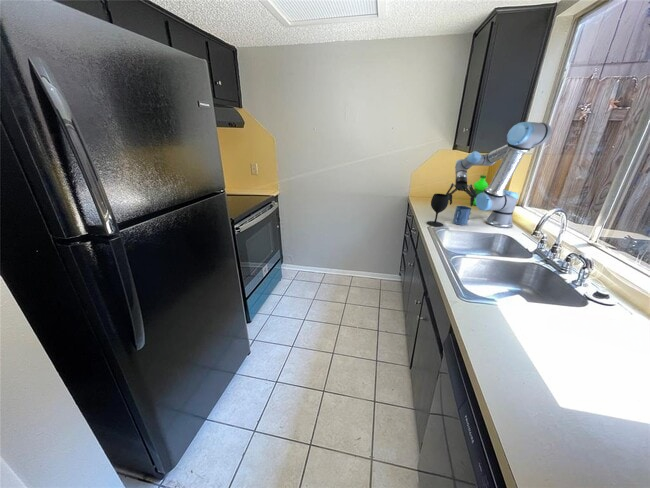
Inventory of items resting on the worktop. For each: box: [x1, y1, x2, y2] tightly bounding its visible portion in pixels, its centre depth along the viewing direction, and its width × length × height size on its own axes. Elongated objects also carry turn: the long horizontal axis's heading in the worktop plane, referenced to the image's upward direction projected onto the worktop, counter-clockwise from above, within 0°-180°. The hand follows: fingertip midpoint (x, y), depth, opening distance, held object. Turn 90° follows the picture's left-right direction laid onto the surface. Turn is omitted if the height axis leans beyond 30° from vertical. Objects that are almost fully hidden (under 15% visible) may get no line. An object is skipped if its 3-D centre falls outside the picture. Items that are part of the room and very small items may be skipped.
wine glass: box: [426, 193, 450, 228], centre depth 170 cm, size 10×10×20 cm
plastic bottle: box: [473, 174, 489, 206], centre depth 220 cm, size 10×10×25 cm
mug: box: [452, 205, 472, 226], centre depth 175 cm, size 12×9×11 cm
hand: (461, 204), depth 179 cm, fingers open, 13 cm apart
